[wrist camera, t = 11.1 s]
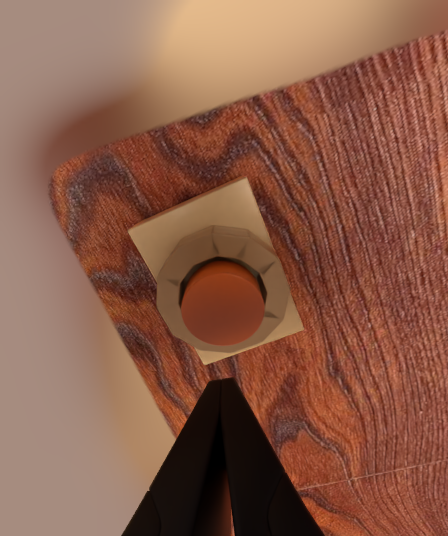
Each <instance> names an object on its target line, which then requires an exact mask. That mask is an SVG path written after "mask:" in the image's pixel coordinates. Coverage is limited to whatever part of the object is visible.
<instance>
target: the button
mask: <svg viewBox="0 0 448 536" xmlns="http://www.w3.org/2000/svg"><path fill="white" fill-rule="evenodd" d="M264 312H265V306H264V300H263V297H262V294H261V291H260V288H259V284H258V282H257V280H256V278H255V277H254V275H253V274H252V273H251V272H250V271H249V270H248V269H247V268H245V267H244V266H242V265H240V264H238V263H235V262H230V261H215V262H211V263H208V264H206V265H204V266H202V267H200V268H199V269H198V270H196V271H195V272H194V273H193V275H192V276H191V277H190V279H189V281H188V283H187V286H186V289H185V293H184V296H183V300H182V305H181V314H182V319H183V322H184V324H185V326H186V327H187V329H188V330H189V331H190V333H191V334H192V335H194V336H195V337H196V338H197V339H199V340H201V341H203V342H205V343H207V344H211V345H215V346H230V345H235V344H238V343H241V342H243V341H245V340H247V339H248V338H249V337H251V336H252V335H253V334H254V333H255V332H256V331H257V330H258V328H259V327H260V325H261V323H262V321H263V317H264Z"/></svg>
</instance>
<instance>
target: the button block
mask: <svg viewBox="0 0 448 536" xmlns="http://www.w3.org/2000/svg"><path fill="white" fill-rule="evenodd" d="M128 233H129V235H130V237H131V238H132V240H133V242H134V244H135V245H136V247H137V249H138V251H139V252H140V254H141V256H142V258H143V259H144V261H145V263H146V265H147V266H148V268H149V270H150V272H151V273H152V275H153V277H154V278H155V280H156V282H157V302H156V306H157V309H158V311H159V312H160V314H161V316H162V317H163V319H164V321H165V322H166V324H167V326H168V327H169V329H170V331H171V332H172V334H173V335H174V336H176V337H178V338H179V339H181V340H183V341H184V342H186V343H188V344H190V345H191V346H193V347H194V348H195V350H196V352H197V353H198V355H199V357H200V359H201V360H202V362H203V364H204V365H207V364H210V363H212V362H215V361H218V360H221V359H224V358H226V357H229V356H232V355H235V354H238V353H241V352H243V351H246V350H249V349H252V348H255V347H257V346H260V345H263V344H266V343H269V342H272V341H274V340H277V339H280V338H283V337H286V336H288V335H291V334H294V333H297V332H300V331H303V330H304V327H303V324H302V321H301V319H300V316H299V313H298V311H297V308H296V305H295V303H294V300H293V298H292V295H291V292H290V286H289V283H288V280H287V278H286V275H285V272H284V270H283V267H282V264H281V262H280V259H279V258H278V256H277V254H276V253H275V250H274V247H273V245H272V242H271V239H270V237H269V234H268V231H267V229H266V226H265V223H264V221H263V218H262V216H261V213H260V210H259V208H258V205H257V202H256V200H255V197H254V194H253V192H252V189H251V186H250V184H249V181H248V178H247V177H245V176H243V175H242V176H240V177H238V178H236V179H233V180H231V181H229V182H227V183H225V184H222V185H220V186H218V187H216V188H213V189H211V190H209V191H207V192H205V193H202V194H200V195H198V196H196V197H193V198H191V199H189V200H187V201H185V202H182V203H180V204H178V205H176V206H173V207H171V208H169V209H167V210H165V211H162V212H160V213H158V214H156V215H154V216H151V217H149V218H147V219H145V220H142V221H140V222H138V223H137V224H136V225H134V226H133V227H131V228H130V229H129V230H128ZM215 261H230V262H235V263H238V264H240V265H242V266H244V267H245V268H247V269H248V270H249V271H250V272H251V273H252V274H253V275H254V277H255V278H256V280H257V282H258V284H259V288H260V291H261V294H262V297H263V300H264V306H265V312H264V317H263V321H262V323H261V325H260V327H259V328H258V330H257V331H256V332H255V333H254V334H253V335H252V336H251V337H249V338H248V339H247V340H245V341H243V342H241V343H238V344H235V345H230V346H215V345H211V344H207V343H205V342H203V341H201V340H199V339H197V338H196V337H195V336H194V335H192V334H191V333H190V331H189V330H188V329H187V327H186V326H185V324H184V322H183V319H182V314H181V305H182V300H183V296H184V293H185V289H186V286H187V283H188V281H189V279H190V277H191V276H192V275H193V273H194V272H195V271H196V270H198V269H199V268H200V267H202V266H204V265H206V264H208V263H211V262H215Z"/></svg>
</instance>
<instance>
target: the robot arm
mask: <svg viewBox="0 0 448 536" xmlns="http://www.w3.org/2000/svg"><path fill="white" fill-rule="evenodd" d="M149 490H150V491H147V493H146V494H145V496H144V498H143V500H142V501H141V503H140V505H139V507H138V508H137V510H136V512H135V514H134V515H133V517H132V519H131V520H130V522H129V524H128V525H127V527H126V529H125V531H124V532H123V534H122V535H121V536H231V509H232V516H233V524H234V532H235V536H325V535H324V534H323V532H322V531H321V529H320V528H319V526H318V525H317V523H316V522H315V520H314V519H313V517H312V516H311V514H310V512H309V511H308V509H307V508H306V506H305V504H304V503H303V501H302V499H301V497H300V496H299V494H298V492H297V491H296V489H295V487H294V485H293V484H292V482H291V480H290V478H289V476H288V475H287V473H285V469H284V468H283V466H282V464H281V462H280V460H279V458H278V457H277V455H276V453H275V451H274V449H273V448H272V446H271V444H270V442H269V440H268V438H267V437H266V435H265V433H264V431H263V429H262V428H261V426H260V424H259V422H258V420H257V418H256V417H255V415H254V413H253V411H252V409H251V407H250V406H249V404H248V402H247V400H246V398H245V397H244V395H243V393H242V391H241V389H240V387H239V386H238V384H237V382H236V380H235V379H234V378H233V377H231V378H225V379H222V380H221V379H218V380H212V381H209V382H208V384H207V386H206V388H205V389H204V391H203V393H202V395H201V397H200V398H199V400H198V402H197V404H196V405H195V407H194V409H193V411H192V413H191V414H190V416H189V418H188V420H187V421H186V423H185V425H184V427H183V429H182V430H181V432H180V434H179V436H178V438H177V439H176V441H175V443H174V445H173V447H172V448H171V450H170V452H169V454H168V455H167V457H166V459H165V461H164V462H163V465H162V466H161V468H160V470H159V472H158V473H157V475H156V477H155V479H154V480H153V482H152V484H151V486H150V488H149Z"/></svg>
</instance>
